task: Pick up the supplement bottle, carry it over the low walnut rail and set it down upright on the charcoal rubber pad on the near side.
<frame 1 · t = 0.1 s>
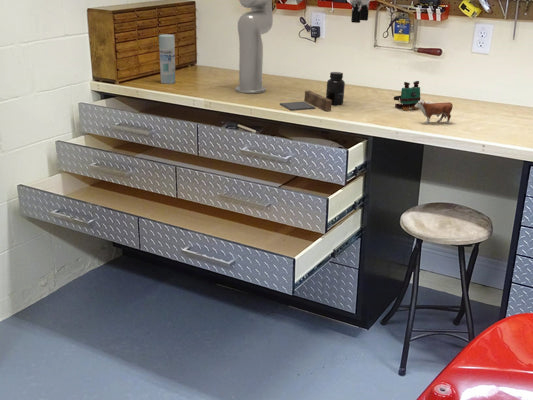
hand: (359, 21, 235), 31 cm above the worktop, tool pointing down, fingers open, 9 cm apart
bull figurine: (432, 123, 223), on the worktop
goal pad: (297, 106, 240), on the worktop
binoculars: (405, 108, 243), on the worktop
spray paint can: (168, 82, 276), on the worktop
supplement bottle: (334, 104, 246), on the worktop
walnut rail: (317, 105, 242), on the worktop
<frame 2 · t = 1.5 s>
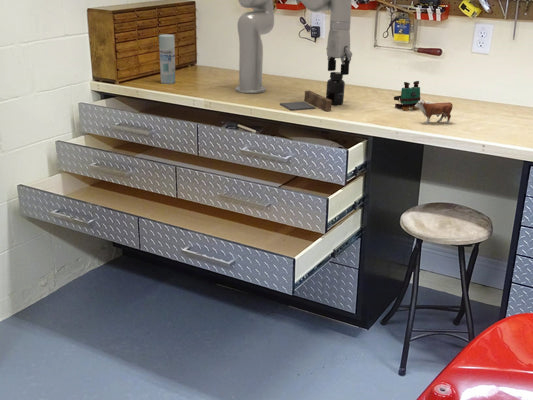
hand: (337, 72, 241), 12 cm above the worktop, tool pointing down, fingers open, 9 cm apart
nothing on the worktop moved.
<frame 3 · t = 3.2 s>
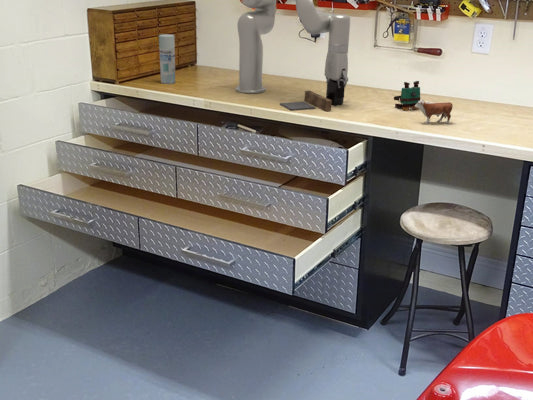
hand: (335, 95, 244), 3 cm above the worktop, tool pointing down, fingers closed on supplement bottle, 6 cm apart
supplement bottle: (334, 104, 246), on the worktop, touching gripper
everything else where it was.
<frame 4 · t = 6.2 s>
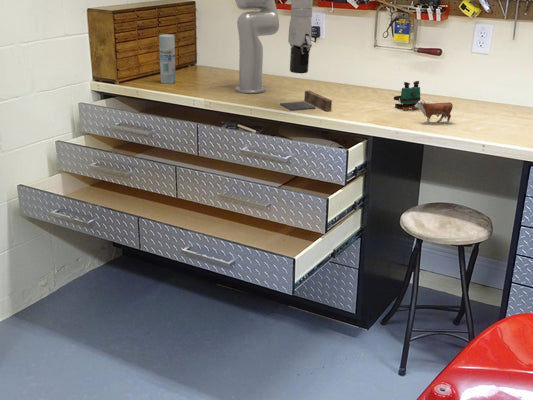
hand: (299, 63, 234), 16 cm above the worktop, tool pointing down, fingers closed on supplement bottle, 6 cm apart
supplement bottle: (298, 72, 235), point 13 cm above the worktop, touching gripper
everything else where it was.
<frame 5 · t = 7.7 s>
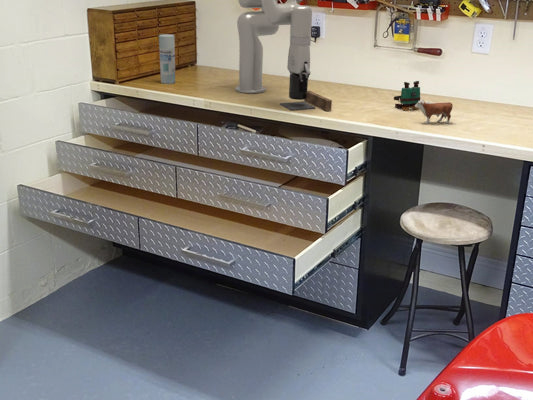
hand: (298, 89, 237), 7 cm above the worktop, tool pointing down, fingers closed on supplement bottle, 6 cm apart
supplement bottle: (297, 98, 238), point 3 cm above the worktop, touching gripper
everything else where it was.
when the fingers open (5 cm above the worktop, at t = 9.1 s): supplement bottle stays where it is, resting on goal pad.
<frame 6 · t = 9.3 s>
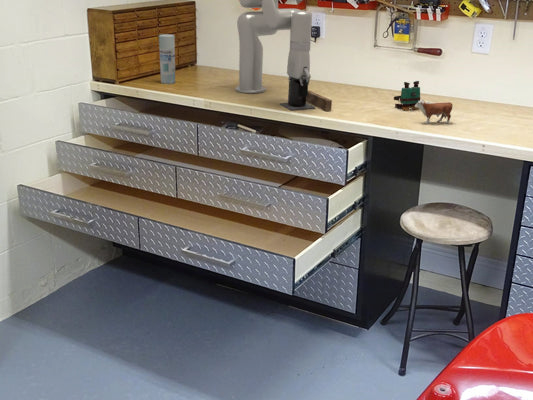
hand: (297, 93, 238), 5 cm above the worktop, tool pointing down, fingers open, 8 cm apart
supplement bottle: (296, 105, 240), resting on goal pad
everything else where it was.
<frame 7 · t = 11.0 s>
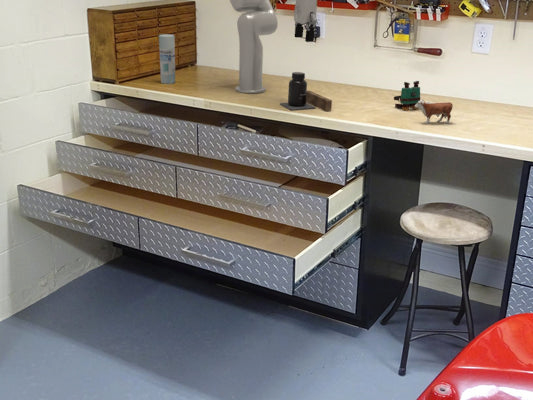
hand: (303, 39, 236), 24 cm above the worktop, tool pointing down, fingers open, 9 cm apart
nothing on the worktop moved.
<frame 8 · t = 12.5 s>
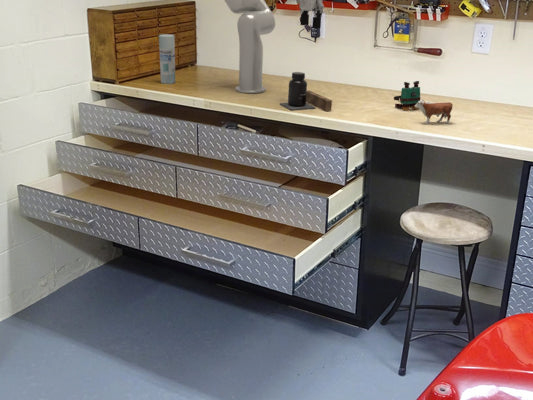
hand: (310, 26, 239), 28 cm above the worktop, tool pointing down, fingers open, 9 cm apart
nothing on the worktop moved.
at the end: supplement bottle inside the target area on the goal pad (0.4 cm from its centre), point 0.4 cm above the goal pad's base; supplement bottle tilted 0°; the gripper is holding nothing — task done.
